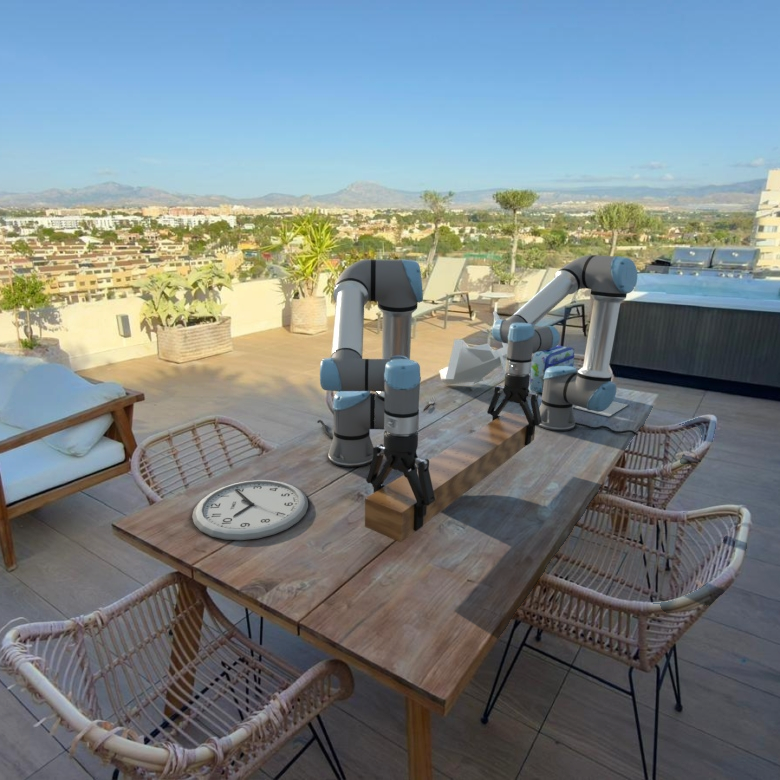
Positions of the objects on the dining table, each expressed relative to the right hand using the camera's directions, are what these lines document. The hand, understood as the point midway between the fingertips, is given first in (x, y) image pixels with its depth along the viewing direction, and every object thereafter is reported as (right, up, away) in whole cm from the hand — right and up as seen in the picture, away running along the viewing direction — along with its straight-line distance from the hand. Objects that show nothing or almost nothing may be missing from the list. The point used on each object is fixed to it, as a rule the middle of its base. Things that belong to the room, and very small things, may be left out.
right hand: (511, 439), depth 169 cm
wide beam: (-19, -8, -24) cm, 31 cm away
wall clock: (-76, -16, -28) cm, 83 cm away
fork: (-23, +9, +54) cm, 60 cm away
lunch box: (+37, +16, +79) cm, 89 cm away
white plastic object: (+2, +15, +74) cm, 76 cm away
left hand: (-37, -14, -48) cm, 62 cm away
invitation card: (+52, +9, +58) cm, 78 cm away
